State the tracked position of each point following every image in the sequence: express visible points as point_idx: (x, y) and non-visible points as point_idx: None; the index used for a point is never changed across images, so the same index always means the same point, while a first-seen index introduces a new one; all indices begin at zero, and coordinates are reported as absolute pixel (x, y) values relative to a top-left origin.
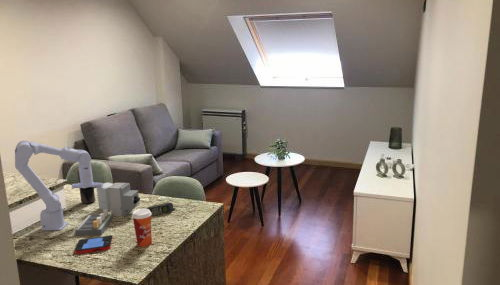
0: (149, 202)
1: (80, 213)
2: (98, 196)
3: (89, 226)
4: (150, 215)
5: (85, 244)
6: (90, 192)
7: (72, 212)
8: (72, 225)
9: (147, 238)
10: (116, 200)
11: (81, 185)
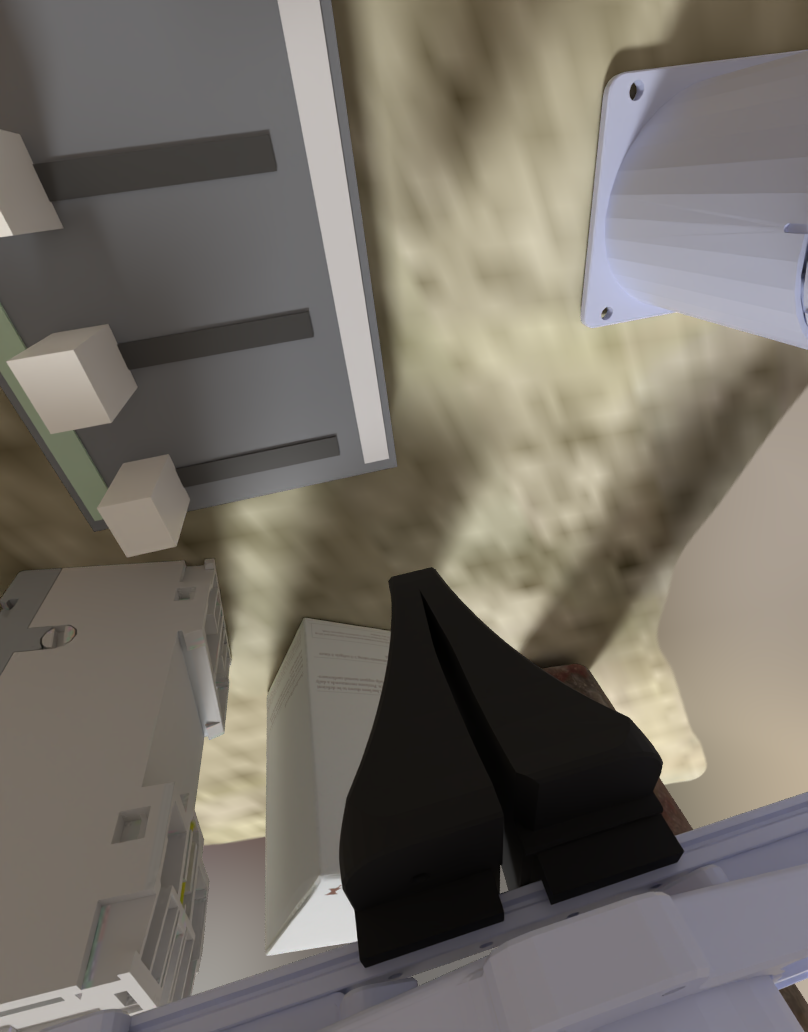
0: None
1: (531, 535)
2: None
3: (105, 18)
4: None
5: None
6: (364, 759)
7: (604, 537)
8: (508, 265)
9: None
10: (46, 728)
11: (749, 980)
